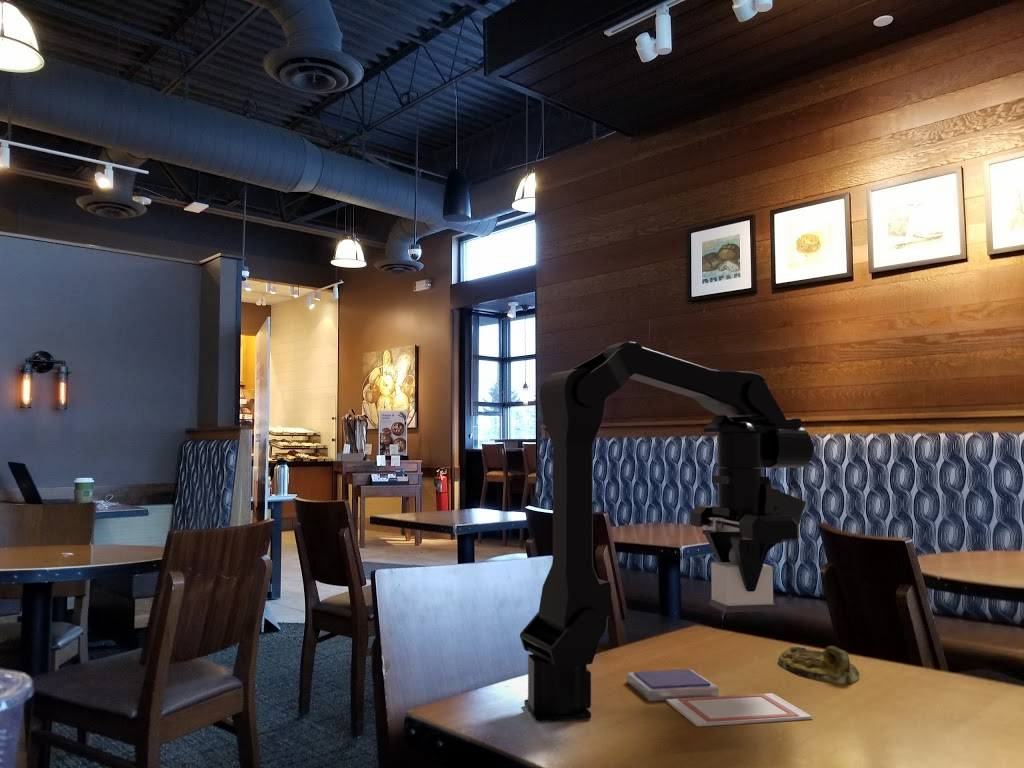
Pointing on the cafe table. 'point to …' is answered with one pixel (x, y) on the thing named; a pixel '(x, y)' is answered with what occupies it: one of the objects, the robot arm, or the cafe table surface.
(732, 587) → the stamp
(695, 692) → the ink pad
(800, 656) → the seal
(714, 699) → the sheet
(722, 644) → the cafe table surface
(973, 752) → the cafe table surface
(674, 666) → the cafe table surface
